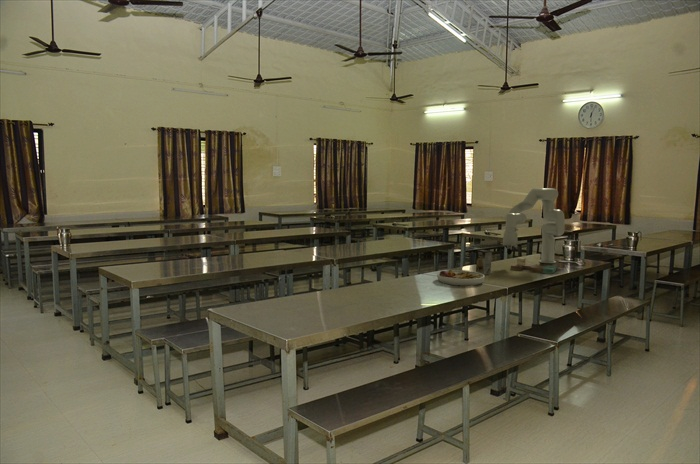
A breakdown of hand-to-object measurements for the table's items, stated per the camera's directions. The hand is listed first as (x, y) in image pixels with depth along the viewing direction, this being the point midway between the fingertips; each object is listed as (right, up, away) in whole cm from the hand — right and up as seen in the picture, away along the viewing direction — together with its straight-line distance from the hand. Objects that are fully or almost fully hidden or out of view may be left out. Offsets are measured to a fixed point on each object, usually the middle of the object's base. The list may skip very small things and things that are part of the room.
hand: (509, 254), depth 395 cm
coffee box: (-25, -12, -22) cm, 35 cm away
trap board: (+15, -11, -7) cm, 20 cm away
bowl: (-47, -16, -53) cm, 73 cm away
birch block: (+8, -8, -3) cm, 11 cm away
